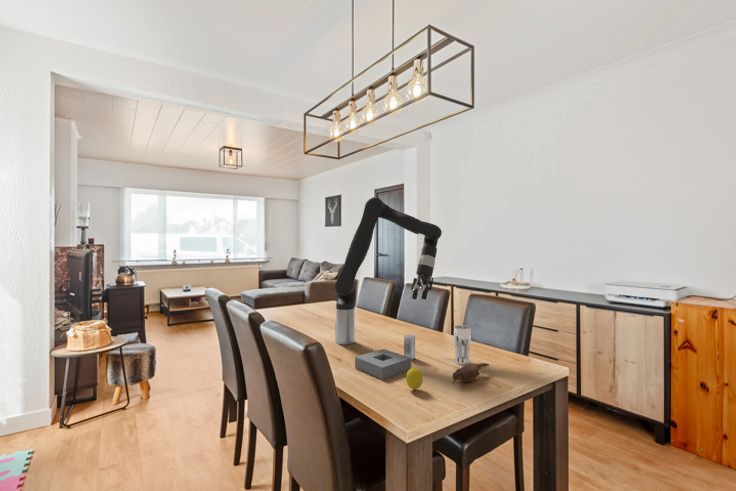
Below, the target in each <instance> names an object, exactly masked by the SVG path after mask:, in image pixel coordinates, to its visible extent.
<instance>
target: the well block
mask: <svg viewBox="0 0 736 491" xmlns="http://www.w3.org/2000/svg"><path fill="white" fill-rule="evenodd" d="M354 368H355V369H357V370H359V371H361V372H364V373H366V374H369V375H370V376H372V377H375V378H377V379H380V380H381V381H383V380H386V379H388V378H390V377H393V376H396V375H399V374H401V373H404V372H408V371H409V370H410V369H411V368H412V360H411V358H410V357H407V356H404V354H400V353H397V352H394V351H391V350H388V349H386V348H382V349H379V350H375V351H370V352H368V353H364V354H361V355H358V356H357V355H356V356H354Z"/></svg>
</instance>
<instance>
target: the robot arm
mask: <svg viewBox="0 0 736 491" xmlns="http://www.w3.org/2000/svg"><path fill="white" fill-rule="evenodd" d="M379 218H381V219H384V220H386V221H389V222H391V223H393V224H395V225H397V226H398V227H400V228H402V229H404V230H406V231H409V232H411V233H413V234H415V235H419V234H420V235H423V245H422V249H421V254H420V257H419V259H418V264H417V268H416V272H415V273H416V275H417V278H416V277H414V278H413V280H412V284H411V287H410V289H411V290H412V295H411V299H412V300H417V298H418V295H419V291H420V290H421V289H422V292H421V296H420V297H421V298H420V299H422V300H424V301H425V300H427V297H428V292H429V291H432V288H433V283H434V277H433V273H434V268H435V265H436V264H435V263H436V257H437V251H438V248H437V246H438V242H439V239H440V238H441V236H442V233H443V232H442V229H441V227H439V226H438V225H436V224H434V223H430V222H427V221H422V220H420V219H419V218H417V217H414V216H413V215H412V216H411V215H410V214H407V213H404V212H401V211H399V210H396V209H394V208H392V207H390V206H389V205H387V204H386V203H385V202H383V200H382V199H381V198H379V197H377V196H373V197H370V198H368V199H367V201H366V202H365V204H364V209H363V211H362V217H361V220H360V222H359V225H358V227H357V229H356V231H355V233H354V235H353V238H352V240H351V243H350V246H349V248H348V252H347V254H346V257H345V259H344V264H343V268H342V269H341V271H340V273H339V275H338V276H337V279H336V281H335V282H334V290H335V292H336V294H337V300H336V304H335V310H336V312H335V317H336V318H335V323H334V324H335V326H334V330H335V338H334V339H335V342H336V344H338V345H343V346H345V345H352V344H354V343H355V339H356V338H355V331H356V330H355V322H356V321H355V319H356V318H355V314H356V313H355V303H356V282H355V280H356V277H357V276H356V275H357V274H358V270H359V269H360V267H361V266H362V264H363V263H364V260H365V259H366V257H367V255H368V252H369V250H370V247H371V243H372V239H373V234H374V230H375V226H376V225H377V222H378V220H379Z"/></svg>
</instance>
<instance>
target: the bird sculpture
mask: <svg viewBox="0 0 736 491" xmlns="http://www.w3.org/2000/svg"><path fill="white" fill-rule="evenodd" d="M488 366H490V364H489V363H485V362H483V363H474V364H467V365H463V366H461V367H460V368H457V369H456V370H455V371H454V372H453V373H452V379H453V380H452V384H454V383H455V382H459V381H460V382H463V383H469V382H471V381H474V380H476V379H477V377H479V376H480V370H481V369H483V368H485V367H488Z"/></svg>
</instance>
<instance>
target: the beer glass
mask: <svg viewBox="0 0 736 491" xmlns="http://www.w3.org/2000/svg"><path fill="white" fill-rule="evenodd" d="M453 328H454V329H453V344H454V349H455V358H454V363H455V364H456V365H461V366H462V365H463V366H466V365H470V364H471V363H470V362H471V361H470V354H469V353H470V347H471V342H472V335H471V327H470V326H468V325H462V324H461V325H460V324H459V325H458V324H457V325H454V327H453Z"/></svg>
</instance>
